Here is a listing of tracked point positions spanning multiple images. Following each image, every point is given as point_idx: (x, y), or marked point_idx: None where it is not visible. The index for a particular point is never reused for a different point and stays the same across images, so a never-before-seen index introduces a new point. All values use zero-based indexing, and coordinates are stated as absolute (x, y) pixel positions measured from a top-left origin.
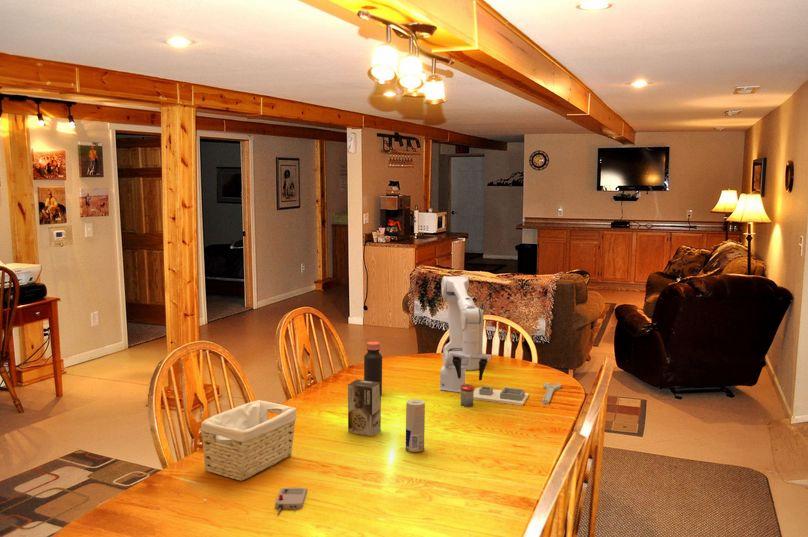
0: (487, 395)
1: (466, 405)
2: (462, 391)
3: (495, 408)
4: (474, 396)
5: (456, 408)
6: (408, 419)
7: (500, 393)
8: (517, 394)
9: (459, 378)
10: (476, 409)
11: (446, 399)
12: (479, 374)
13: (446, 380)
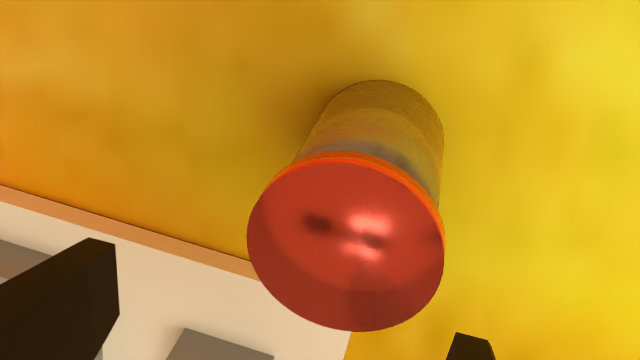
0: (207, 333)
1: (380, 87)
2: (416, 180)
3: (109, 76)
4: None
5: (497, 23)
6: None
7: None
8: None
9: (461, 335)
10: (276, 21)
11: (583, 286)
12: (30, 298)
13: None
